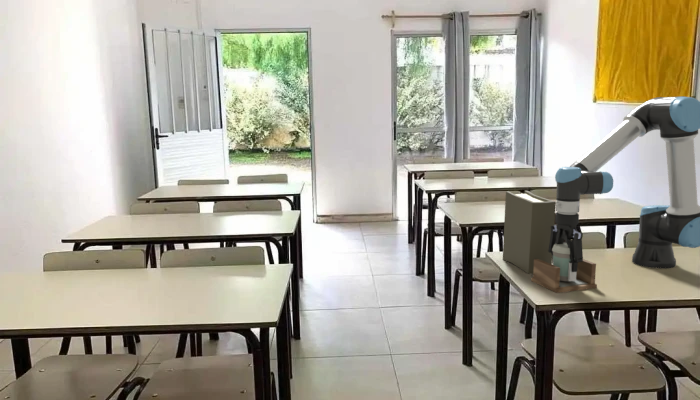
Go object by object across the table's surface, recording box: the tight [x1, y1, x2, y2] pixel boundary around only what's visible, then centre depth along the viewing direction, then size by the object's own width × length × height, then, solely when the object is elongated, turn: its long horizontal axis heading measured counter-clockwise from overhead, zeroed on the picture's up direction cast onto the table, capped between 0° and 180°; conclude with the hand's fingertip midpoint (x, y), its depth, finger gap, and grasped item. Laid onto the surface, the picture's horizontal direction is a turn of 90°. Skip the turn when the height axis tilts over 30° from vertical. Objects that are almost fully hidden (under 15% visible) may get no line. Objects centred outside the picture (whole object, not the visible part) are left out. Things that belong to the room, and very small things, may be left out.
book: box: [502, 190, 556, 275], centre depth 222 cm, size 22×9×28 cm, turn 12°
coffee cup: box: [552, 243, 571, 281], centre depth 199 cm, size 8×9×12 cm
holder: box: [530, 258, 598, 294], centre depth 200 cm, size 16×14×8 cm
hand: (563, 277), depth 200 cm, fingers closed on coffee cup, 8 cm apart
